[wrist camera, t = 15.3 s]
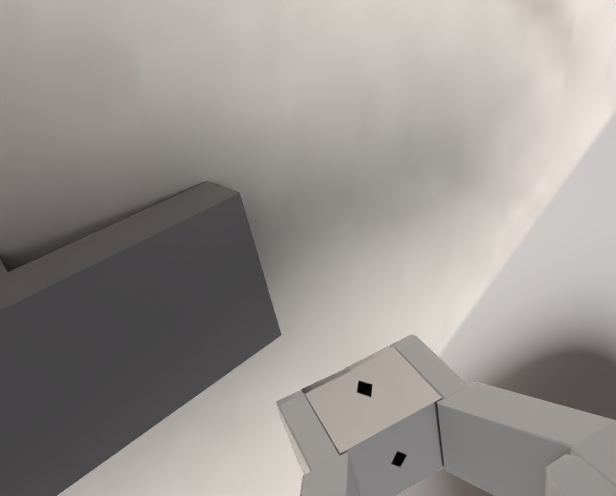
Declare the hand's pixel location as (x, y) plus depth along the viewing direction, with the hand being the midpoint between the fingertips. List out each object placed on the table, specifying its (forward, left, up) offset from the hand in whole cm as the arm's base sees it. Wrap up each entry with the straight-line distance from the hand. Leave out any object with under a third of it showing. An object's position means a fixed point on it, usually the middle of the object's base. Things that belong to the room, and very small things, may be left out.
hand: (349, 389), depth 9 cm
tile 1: (0, 0, -6) cm, 6 cm away
